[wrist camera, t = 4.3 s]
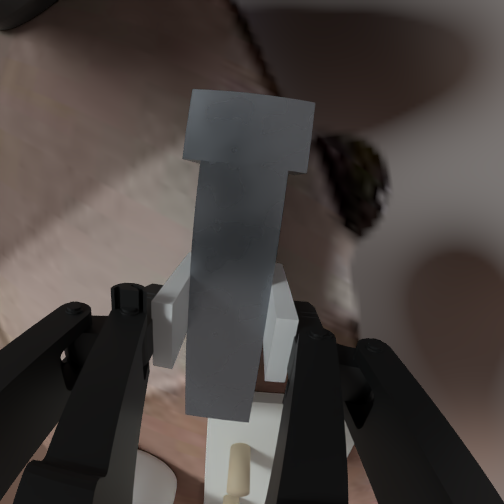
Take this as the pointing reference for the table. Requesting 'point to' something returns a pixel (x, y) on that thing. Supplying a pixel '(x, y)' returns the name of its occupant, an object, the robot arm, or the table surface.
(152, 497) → the mug
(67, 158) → the table surface
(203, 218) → the grey bar
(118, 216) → the table surface
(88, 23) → the table surface
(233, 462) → the rack
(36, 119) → the table surface
